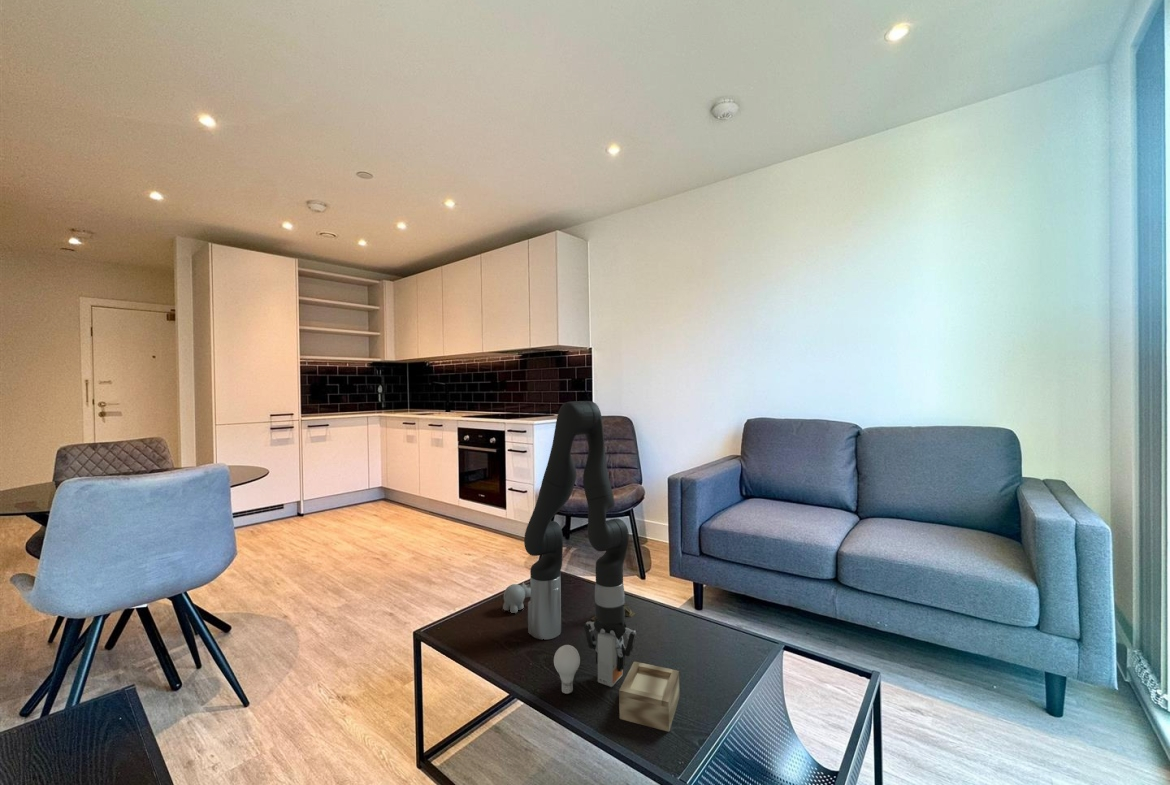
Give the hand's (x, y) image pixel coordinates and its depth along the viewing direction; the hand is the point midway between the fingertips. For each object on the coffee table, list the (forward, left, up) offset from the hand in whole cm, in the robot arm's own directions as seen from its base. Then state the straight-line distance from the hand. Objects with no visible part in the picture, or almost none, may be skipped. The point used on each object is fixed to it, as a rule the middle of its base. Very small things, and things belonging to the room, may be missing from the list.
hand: (610, 667), depth 114 cm
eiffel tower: (-10, +32, -3) cm, 34 cm away
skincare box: (0, 0, -3) cm, 3 cm away
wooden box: (+12, -7, -3) cm, 14 cm away
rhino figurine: (-42, +27, -3) cm, 50 cm away
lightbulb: (-8, -9, -3) cm, 12 cm away
